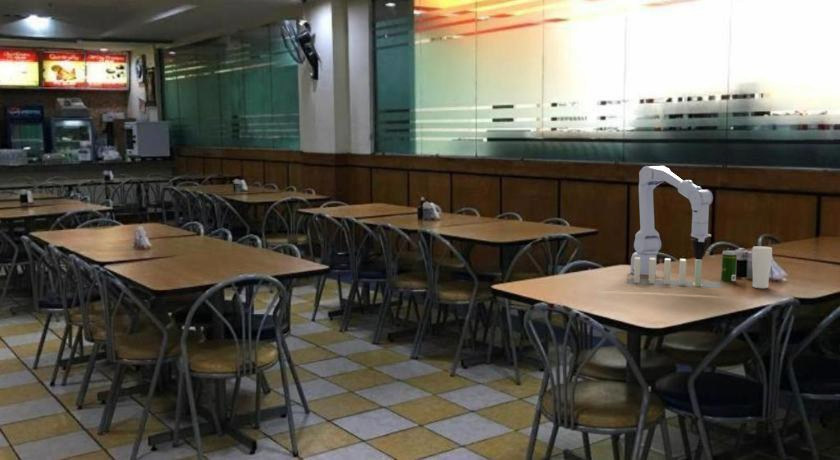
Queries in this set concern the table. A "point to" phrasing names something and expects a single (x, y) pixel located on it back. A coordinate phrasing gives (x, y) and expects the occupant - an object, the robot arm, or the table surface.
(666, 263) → the domino
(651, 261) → the domino
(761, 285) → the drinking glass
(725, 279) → the beer can
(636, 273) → the domino
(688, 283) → the domino mat
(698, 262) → the domino
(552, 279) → the table surface
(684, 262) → the domino
